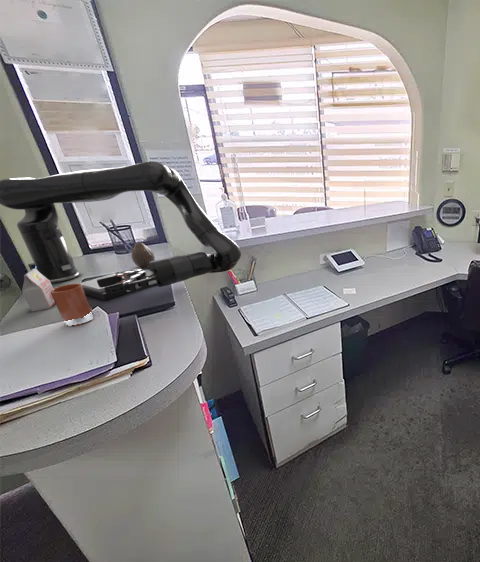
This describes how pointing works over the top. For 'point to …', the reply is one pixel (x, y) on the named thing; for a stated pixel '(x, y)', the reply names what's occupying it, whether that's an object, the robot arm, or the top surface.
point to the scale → (98, 289)
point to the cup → (71, 301)
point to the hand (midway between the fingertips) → (101, 287)
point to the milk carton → (37, 291)
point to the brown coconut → (142, 255)
